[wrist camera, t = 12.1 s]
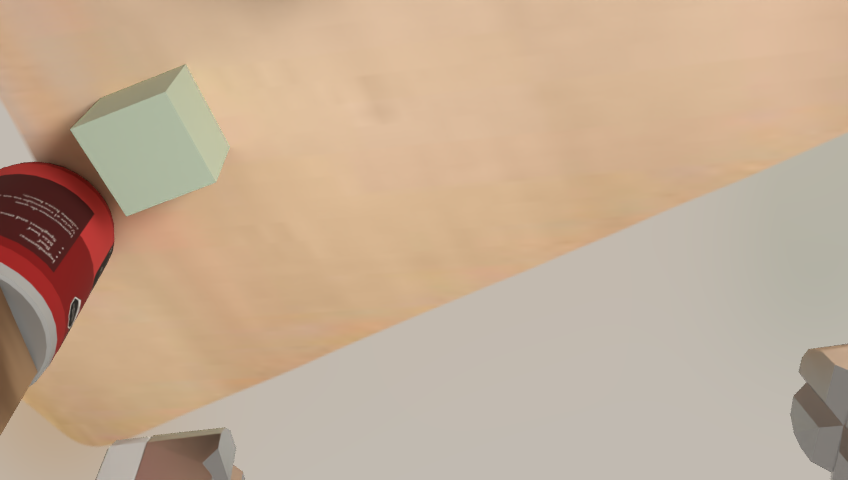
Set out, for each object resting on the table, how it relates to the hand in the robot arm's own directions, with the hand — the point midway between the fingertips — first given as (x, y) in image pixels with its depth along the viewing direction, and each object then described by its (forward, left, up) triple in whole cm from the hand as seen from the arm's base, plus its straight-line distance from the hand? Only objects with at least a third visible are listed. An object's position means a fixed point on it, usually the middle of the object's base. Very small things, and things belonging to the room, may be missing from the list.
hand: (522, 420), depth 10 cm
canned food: (+10, -21, -31) cm, 39 cm away
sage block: (+5, -13, -31) cm, 34 cm away
